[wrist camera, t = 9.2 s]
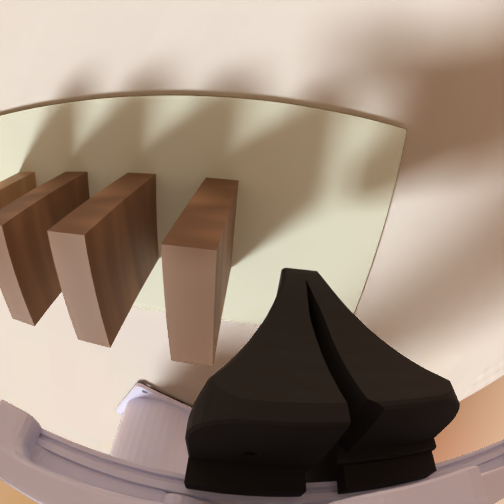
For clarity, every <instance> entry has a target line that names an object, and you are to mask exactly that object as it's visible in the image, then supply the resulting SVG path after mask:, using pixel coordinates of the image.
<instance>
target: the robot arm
mask: <svg viewBox="0 0 504 504" xmlns="http://www.w3.org/2000/svg"><path fill="white" fill-rule="evenodd" d="M459 405H460V404H459V401H458V399H457V396H456V394H455V392H454V389H453V387H452V385H451V383H450V381H449V380H447V379H445V378H443V377H441V376H439V375H437V374H435V373H432V372H430V371H428V370H426V369H424V368H423V367H421V366H419V365H418V364H416V363H414V362H412V361H411V360H409V359H408V358H406V357H405V356H403V355H401V354H400V353H398V352H397V351H396V350H394V349H393V348H392V347H390V346H389V345H388V344H386V343H385V342H384V341H382V340H381V339H380V338H379V337H377V336H376V335H375V334H374V333H373V332H372V331H371V330H369V329H368V328H367V327H366V326H365V325H364V324H363V323H362V322H361V321H360V320H359V319H358V318H357V317H356V316H355V315H354V314H353V313H352V312H351V311H350V310H349V309H348V308H347V306H346V305H345V304H344V303H343V302H342V301H341V300H340V298H339V297H338V296H337V295H336V294H335V292H334V291H333V290H332V289H331V287H330V286H329V285H328V284H327V283H326V281H325V280H324V279H323V277H322V276H321V275H320V274H319V273H318V271H312V270H303V269H294V268H283V269H282V270H281V275H280V280H279V285H278V290H277V296H276V298H275V300H274V303H273V305H272V306H271V308H270V310H269V312H268V314H267V316H266V318H265V319H264V321H263V322H262V324H261V325H260V327H259V328H258V330H257V331H256V332H255V334H254V335H253V336H252V338H251V339H250V340H249V341H248V343H247V344H246V345H245V346H244V347H243V348H242V349H241V350H240V351H239V352H238V353H237V354H236V356H235V357H234V358H233V359H232V360H231V361H230V362H228V363H227V364H226V365H225V366H224V367H223V368H221V369H220V370H219V371H218V372H217V373H215V374H214V375H213V376H212V377H210V378H209V379H208V381H207V383H206V384H205V386H204V387H203V389H202V391H201V392H200V394H199V396H198V398H197V399H196V401H195V403H194V405H193V407H190V406H188V405H185V404H183V403H181V402H179V401H176V400H174V399H172V398H170V397H168V396H166V395H164V394H161V393H159V392H157V391H155V390H153V389H151V388H149V387H147V386H145V385H143V384H141V383H137V384H135V386H134V387H133V388H132V389H131V391H130V392H129V393H128V394H127V395H126V397H125V398H124V399H123V400H122V402H121V403H120V404H119V405H118V407H117V408H116V412H117V413H119V414H121V415H122V418H121V421H120V424H119V427H118V430H117V433H116V436H115V439H114V442H113V445H112V448H111V451H110V454H109V455H107V454H104V453H101V452H99V451H96V450H93V449H90V448H87V447H85V446H82V445H79V444H77V443H74V442H72V441H69V440H67V439H64V438H62V437H60V436H57V435H55V434H53V433H51V432H49V431H46V430H44V429H42V428H41V426H40V424H39V423H38V422H37V421H36V420H35V419H34V418H33V417H32V416H31V415H29V414H28V413H26V412H25V411H23V410H21V409H19V408H17V407H15V406H13V405H12V404H10V403H8V402H6V401H4V400H1V401H0V479H1V480H2V481H3V482H5V483H6V484H8V485H9V486H11V487H13V488H14V489H16V490H17V491H19V492H20V493H22V494H24V495H25V496H27V497H29V498H30V499H32V500H34V501H36V502H37V503H39V504H494V503H496V502H498V501H499V500H501V499H503V498H504V440H501V441H499V442H497V443H494V444H492V445H490V446H487V447H484V448H482V449H479V450H477V451H474V452H471V453H468V454H465V455H462V456H459V457H456V458H453V459H450V460H447V461H443V462H440V463H436V464H435V462H434V458H433V454H432V450H434V449H435V448H436V444H435V440H434V437H436V436H437V434H439V433H440V432H441V431H442V430H443V429H444V428H445V427H446V426H447V425H448V424H449V423H450V422H451V421H452V420H453V419H454V418H455V416H456V414H457V412H458V410H459Z"/></svg>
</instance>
